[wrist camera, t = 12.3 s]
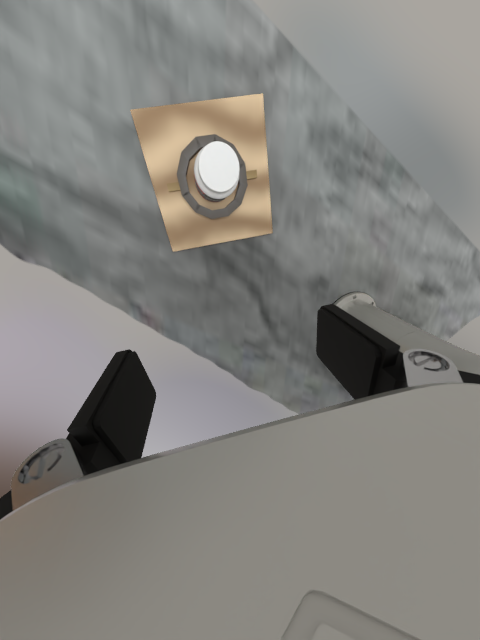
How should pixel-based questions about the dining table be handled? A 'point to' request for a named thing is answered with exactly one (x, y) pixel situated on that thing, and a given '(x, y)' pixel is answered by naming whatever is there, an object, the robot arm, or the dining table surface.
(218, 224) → the socket board
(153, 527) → the robot arm
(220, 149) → the pill bottle
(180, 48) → the dining table surface
